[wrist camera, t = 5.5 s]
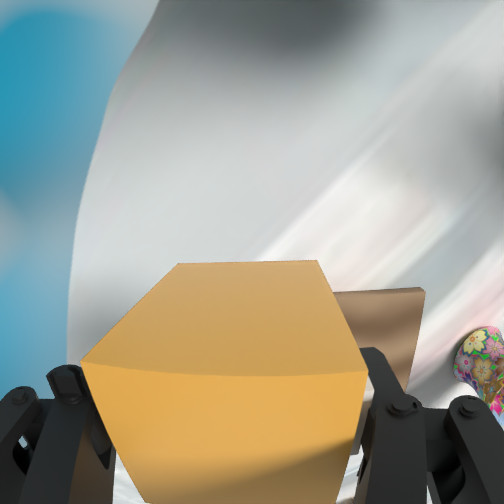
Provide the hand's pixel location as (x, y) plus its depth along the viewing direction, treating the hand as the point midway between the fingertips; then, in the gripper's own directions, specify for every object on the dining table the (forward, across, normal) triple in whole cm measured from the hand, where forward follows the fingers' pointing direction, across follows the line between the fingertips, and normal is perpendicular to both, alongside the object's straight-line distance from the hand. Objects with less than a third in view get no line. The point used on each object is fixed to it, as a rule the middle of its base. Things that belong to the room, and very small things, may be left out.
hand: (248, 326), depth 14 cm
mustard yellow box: (0, 0, 0) cm, 0 cm away
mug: (+17, +29, -14) cm, 36 cm away
